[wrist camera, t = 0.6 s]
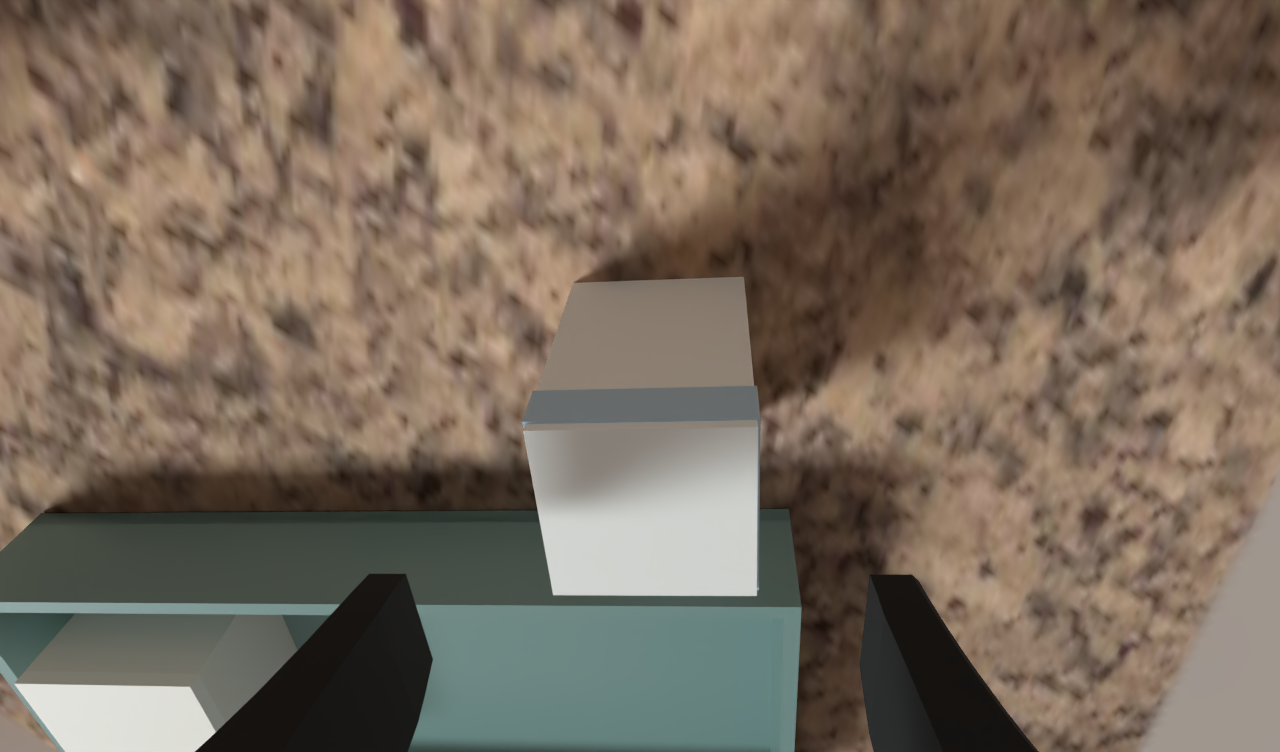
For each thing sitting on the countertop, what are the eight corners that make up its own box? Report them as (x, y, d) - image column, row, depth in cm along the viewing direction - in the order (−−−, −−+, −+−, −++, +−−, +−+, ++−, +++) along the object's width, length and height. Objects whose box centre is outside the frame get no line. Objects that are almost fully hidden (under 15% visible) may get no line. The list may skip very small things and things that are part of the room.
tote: (779, 767, 28) (788, 871, 25) (187, 751, 30) (130, 845, 27) (788, 508, 22) (801, 607, 19) (41, 513, 24) (-53, 601, 21)
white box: (335, 735, 28) (284, 851, 25) (203, 732, 29) (135, 846, 25) (263, 573, 24) (189, 686, 21) (110, 573, 24) (13, 683, 21)
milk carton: (746, 420, 20) (759, 597, 15) (589, 423, 21) (550, 596, 16) (746, 274, 18) (761, 424, 13) (570, 280, 19) (519, 428, 14)
